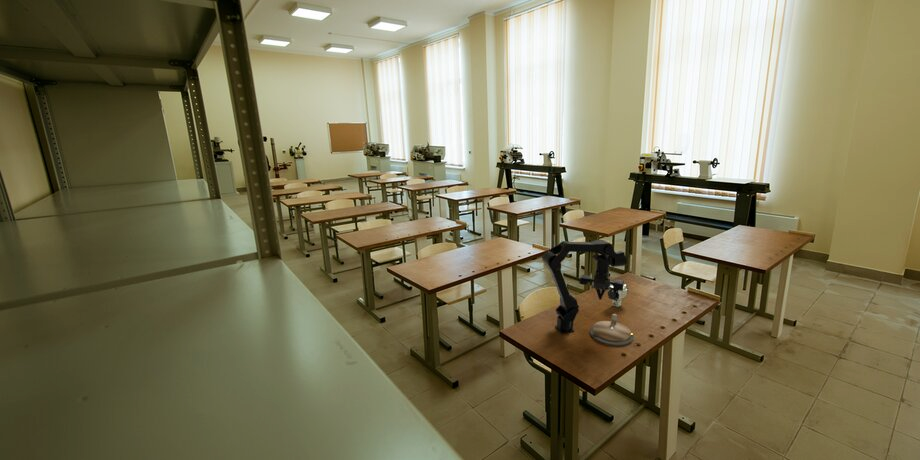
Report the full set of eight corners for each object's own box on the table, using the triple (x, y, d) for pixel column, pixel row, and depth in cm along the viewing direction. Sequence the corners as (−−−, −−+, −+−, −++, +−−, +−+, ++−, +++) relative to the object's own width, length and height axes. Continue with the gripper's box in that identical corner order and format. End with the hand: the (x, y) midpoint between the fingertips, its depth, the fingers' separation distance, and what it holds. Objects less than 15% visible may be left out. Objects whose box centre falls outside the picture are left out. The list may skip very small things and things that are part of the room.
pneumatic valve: (606, 307, 198) (607, 285, 195) (618, 300, 205) (620, 279, 202) (616, 311, 194) (618, 289, 191) (628, 304, 201) (630, 282, 198)
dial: (628, 345, 162) (629, 334, 161) (589, 336, 170) (590, 325, 168) (632, 328, 176) (633, 317, 174) (596, 320, 183) (596, 310, 182)
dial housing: (606, 349, 162) (606, 346, 162) (582, 328, 179) (582, 325, 179) (642, 341, 167) (642, 338, 167) (615, 322, 184) (615, 319, 183)
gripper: (577, 270, 172) (575, 302, 176) (622, 277, 163) (619, 310, 167) (582, 262, 181) (581, 293, 185) (625, 268, 172) (622, 300, 176)
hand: (600, 299), depth 178 cm, fingers closed
